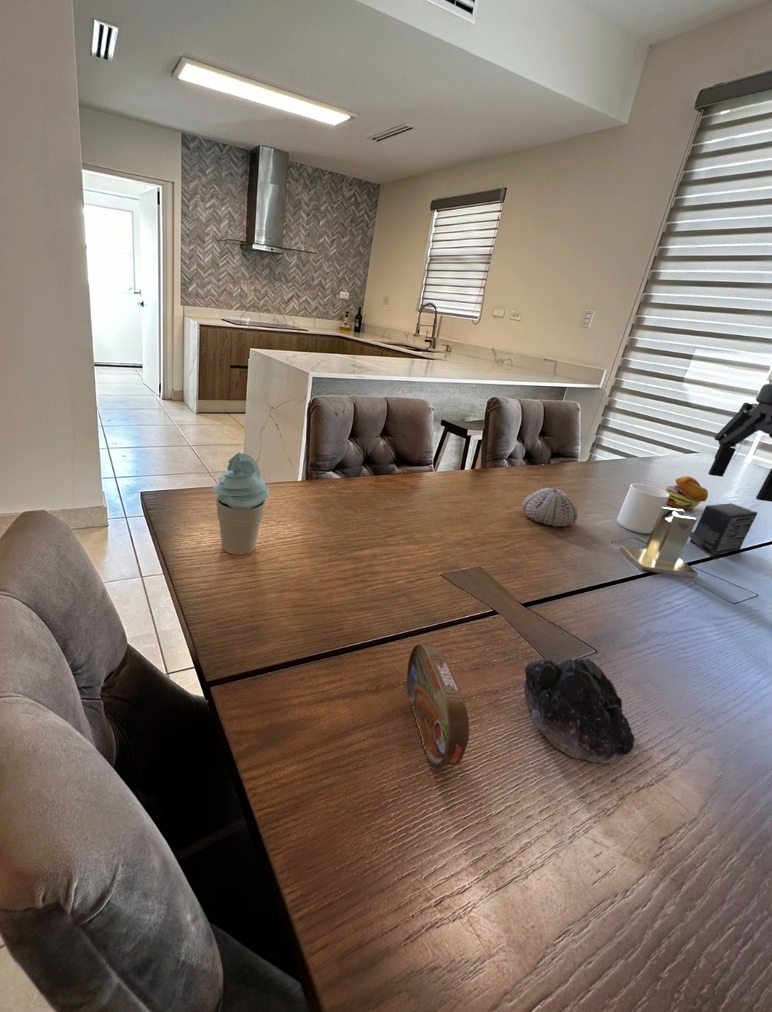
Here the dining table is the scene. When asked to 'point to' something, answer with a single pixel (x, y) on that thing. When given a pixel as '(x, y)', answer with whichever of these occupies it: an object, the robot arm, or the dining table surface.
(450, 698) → the tin
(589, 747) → the crystal cluster
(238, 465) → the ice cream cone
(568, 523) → the sea urchin shell
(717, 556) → the lever
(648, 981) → the dining table surface
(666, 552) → the bracket
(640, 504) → the mug
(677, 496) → the cheeseburger
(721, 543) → the small box
